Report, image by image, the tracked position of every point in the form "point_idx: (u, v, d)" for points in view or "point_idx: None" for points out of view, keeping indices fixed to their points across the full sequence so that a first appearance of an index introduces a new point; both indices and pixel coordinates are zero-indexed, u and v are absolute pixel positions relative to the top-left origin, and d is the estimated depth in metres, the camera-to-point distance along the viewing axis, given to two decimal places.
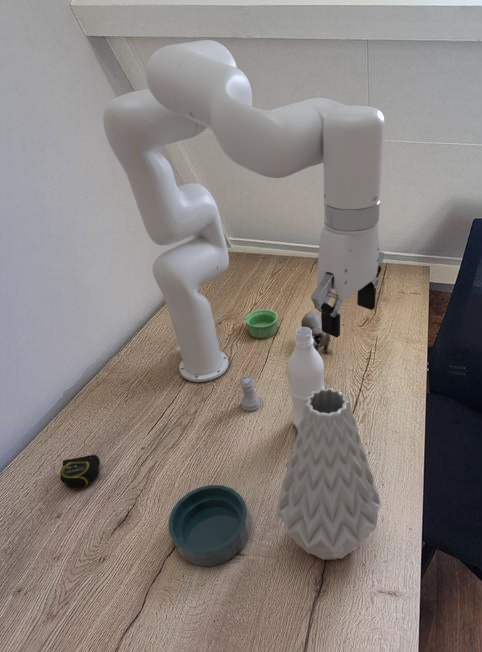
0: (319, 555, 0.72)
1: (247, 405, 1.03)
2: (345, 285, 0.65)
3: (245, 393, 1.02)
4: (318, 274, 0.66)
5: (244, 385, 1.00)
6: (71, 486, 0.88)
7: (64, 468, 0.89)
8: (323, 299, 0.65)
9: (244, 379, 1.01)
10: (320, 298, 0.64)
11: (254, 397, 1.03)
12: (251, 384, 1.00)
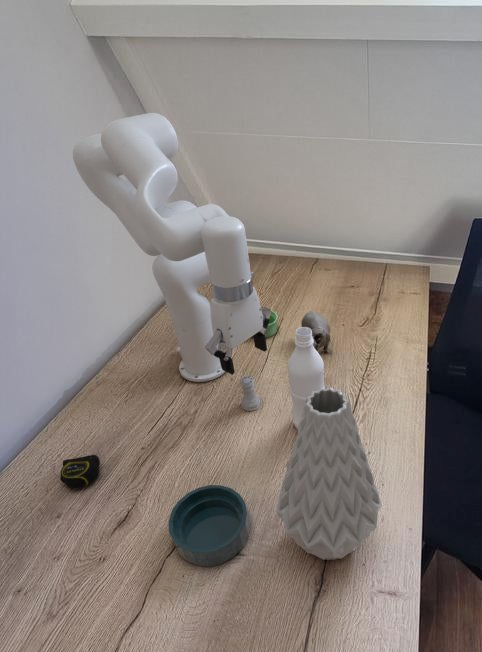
0: (319, 555, 0.72)
1: (247, 405, 1.03)
2: (231, 338, 0.87)
3: (245, 393, 1.02)
4: (212, 329, 0.88)
5: (244, 385, 1.00)
6: (71, 486, 0.88)
7: (64, 468, 0.89)
8: (215, 348, 0.87)
9: (244, 379, 1.01)
10: (212, 348, 0.86)
11: (254, 397, 1.03)
12: (251, 384, 1.00)
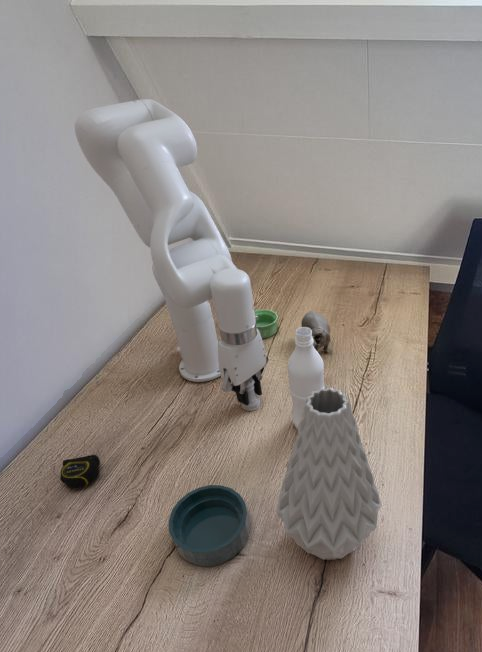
0: (319, 555, 0.72)
1: (247, 405, 1.03)
2: (237, 377, 0.94)
3: None
4: (219, 368, 0.95)
5: None
6: (71, 486, 0.88)
7: (64, 468, 0.89)
8: (230, 387, 0.96)
9: None
10: (227, 389, 0.96)
11: (254, 397, 1.03)
12: (251, 384, 1.00)
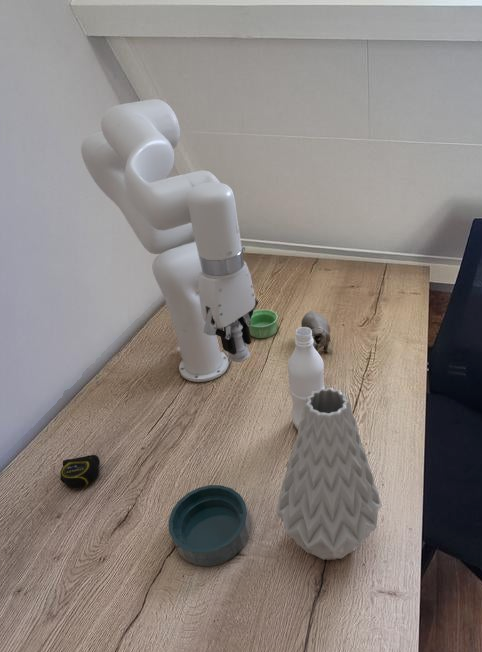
0: (319, 555, 0.72)
1: (234, 355, 0.90)
2: (221, 316, 0.81)
3: None
4: (201, 307, 0.82)
5: None
6: (71, 486, 0.88)
7: (64, 468, 0.89)
8: (214, 330, 0.83)
9: (230, 324, 0.88)
10: (210, 331, 0.83)
11: (242, 346, 0.90)
12: (238, 329, 0.87)
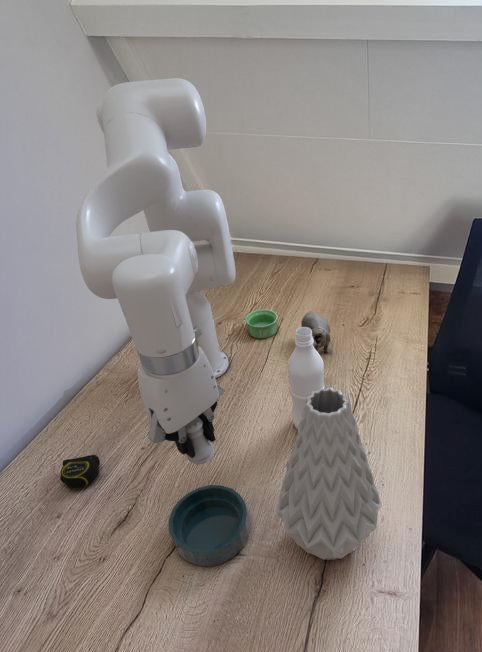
0: (319, 555, 0.72)
1: (193, 457, 0.71)
2: (169, 421, 0.62)
3: None
4: None
5: (186, 430, 0.67)
6: (71, 486, 0.88)
7: (64, 468, 0.89)
8: (162, 435, 0.64)
9: None
10: (157, 438, 0.63)
11: (204, 445, 0.71)
12: (197, 428, 0.68)
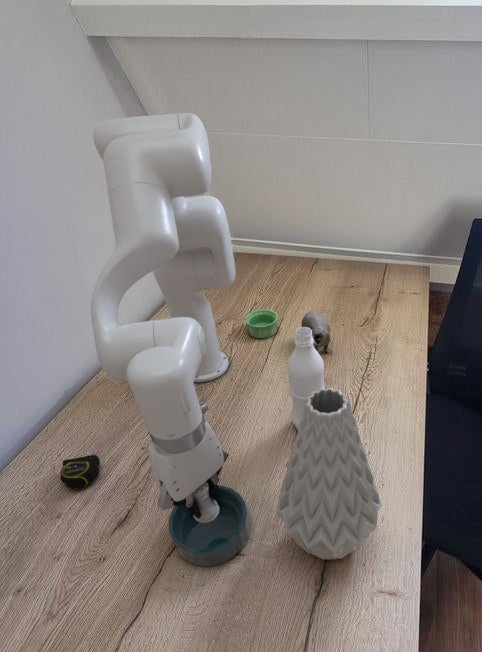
0: (319, 555, 0.72)
1: None
2: (178, 491, 0.66)
3: None
4: (154, 477, 0.67)
5: (193, 494, 0.71)
6: (71, 486, 0.88)
7: (64, 468, 0.89)
8: (170, 502, 0.68)
9: None
10: (166, 506, 0.67)
11: (209, 506, 0.75)
12: (203, 492, 0.72)
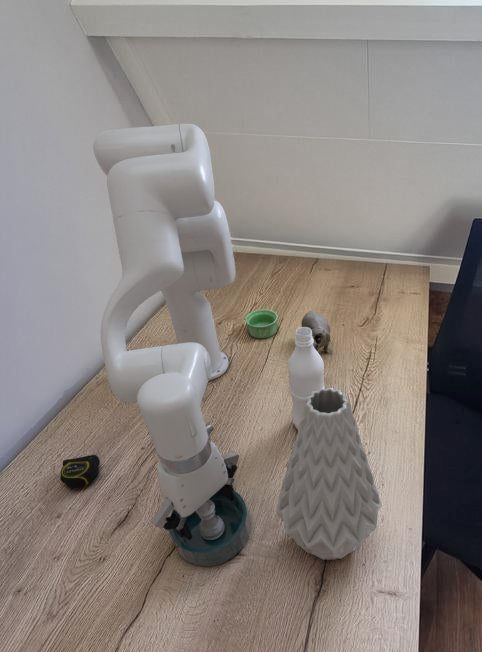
0: (319, 555, 0.72)
1: (206, 535, 0.79)
2: (185, 508, 0.69)
3: (203, 520, 0.77)
4: (162, 494, 0.70)
5: (200, 513, 0.75)
6: (71, 486, 0.88)
7: (64, 468, 0.89)
8: (164, 522, 0.69)
9: None
10: (159, 523, 0.68)
11: (215, 524, 0.79)
12: (210, 512, 0.76)
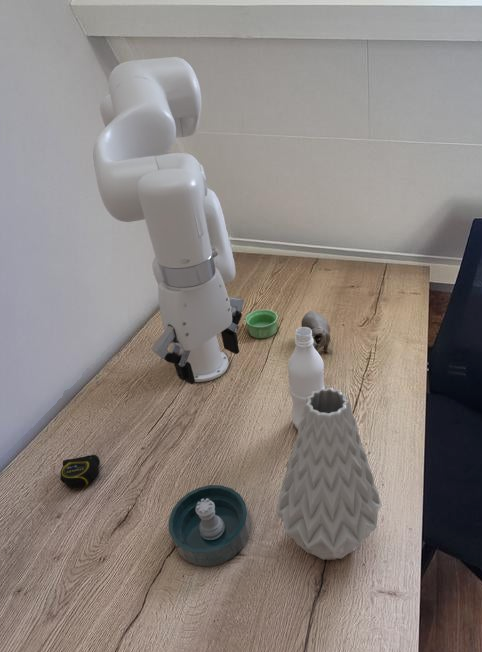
0: (319, 555, 0.72)
1: (206, 535, 0.79)
2: (187, 337, 0.66)
3: (203, 520, 0.77)
4: (163, 325, 0.67)
5: (200, 513, 0.75)
6: (71, 486, 0.88)
7: (64, 468, 0.89)
8: (165, 351, 0.65)
9: (201, 504, 0.76)
10: (161, 350, 0.65)
11: (215, 524, 0.79)
12: (210, 512, 0.76)
